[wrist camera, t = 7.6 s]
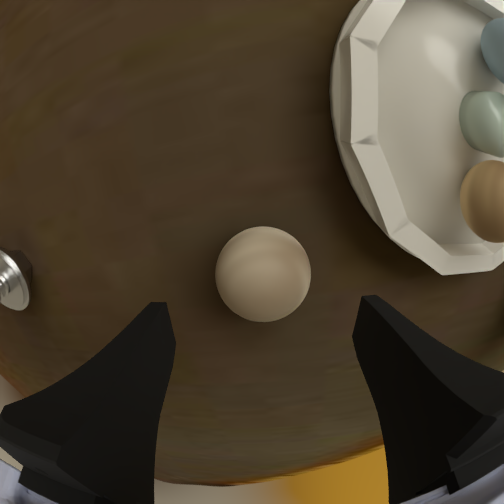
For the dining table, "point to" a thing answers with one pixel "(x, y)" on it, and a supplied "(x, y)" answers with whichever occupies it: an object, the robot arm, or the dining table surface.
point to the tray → (418, 121)
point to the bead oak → (484, 200)
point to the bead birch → (263, 274)
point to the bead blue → (494, 47)
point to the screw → (14, 279)
